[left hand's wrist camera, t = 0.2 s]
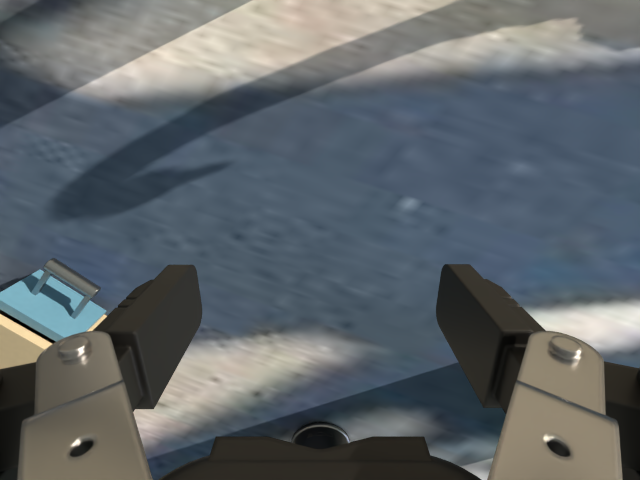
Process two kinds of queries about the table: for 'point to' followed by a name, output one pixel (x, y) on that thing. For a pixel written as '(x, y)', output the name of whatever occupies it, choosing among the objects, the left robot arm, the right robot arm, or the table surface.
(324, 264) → the table surface
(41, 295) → the drawer
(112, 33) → the table surface
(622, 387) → the left robot arm
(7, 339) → the beige cardboard box
